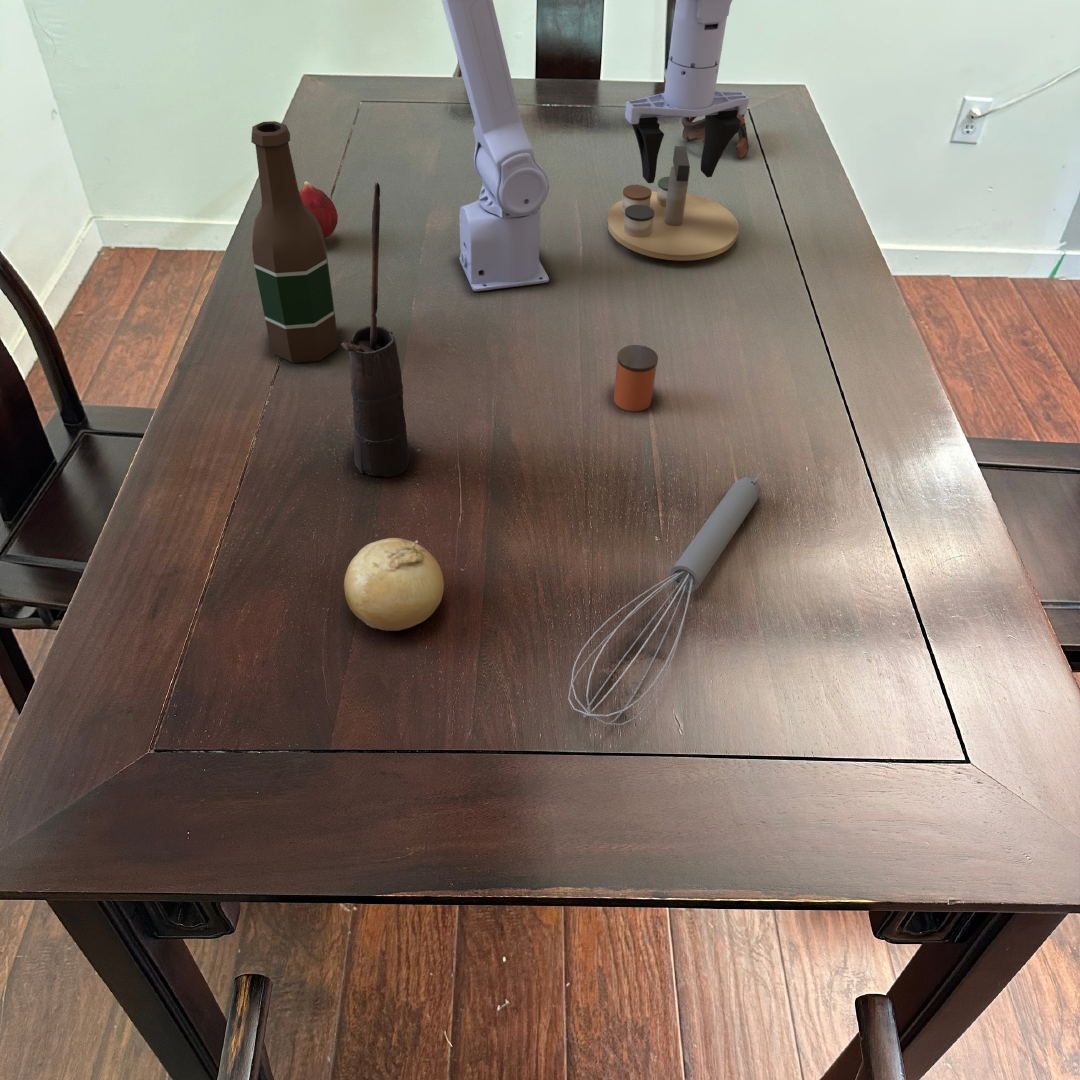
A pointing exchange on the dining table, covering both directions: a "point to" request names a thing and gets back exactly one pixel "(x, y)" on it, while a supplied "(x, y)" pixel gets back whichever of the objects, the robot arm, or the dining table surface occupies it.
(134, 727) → the dining table surface
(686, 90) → the robot arm
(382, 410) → the butter churn
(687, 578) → the kitchen whisk
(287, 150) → the beer bottle
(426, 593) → the onion
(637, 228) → the spice carousel
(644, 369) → the spice jar
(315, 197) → the onion
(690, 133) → the brown curled loops
